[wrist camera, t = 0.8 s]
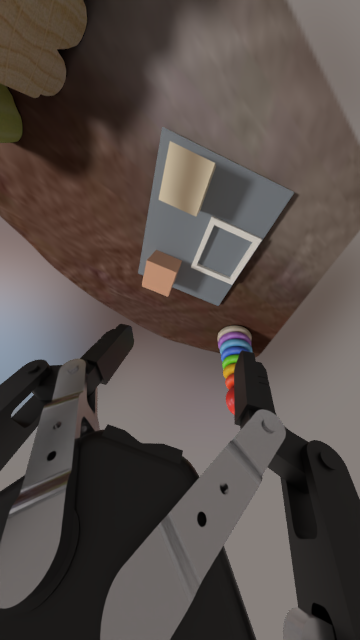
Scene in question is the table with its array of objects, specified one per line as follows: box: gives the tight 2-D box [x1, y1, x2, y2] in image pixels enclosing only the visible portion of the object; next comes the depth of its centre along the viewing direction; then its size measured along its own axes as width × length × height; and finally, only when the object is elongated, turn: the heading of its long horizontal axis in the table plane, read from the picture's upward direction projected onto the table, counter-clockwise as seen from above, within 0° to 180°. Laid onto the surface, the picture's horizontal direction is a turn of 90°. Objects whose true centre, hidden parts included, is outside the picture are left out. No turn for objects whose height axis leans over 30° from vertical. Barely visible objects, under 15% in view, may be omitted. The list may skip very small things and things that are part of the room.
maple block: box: [158, 141, 216, 216], centre depth 20 cm, size 5×5×5 cm
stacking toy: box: [218, 325, 252, 415], centre depth 33 cm, size 8×8×19 cm
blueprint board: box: [138, 127, 294, 306], centre depth 26 cm, size 18×20×2 cm
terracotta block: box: [142, 250, 182, 297], centre depth 28 cm, size 5×5×5 cm
